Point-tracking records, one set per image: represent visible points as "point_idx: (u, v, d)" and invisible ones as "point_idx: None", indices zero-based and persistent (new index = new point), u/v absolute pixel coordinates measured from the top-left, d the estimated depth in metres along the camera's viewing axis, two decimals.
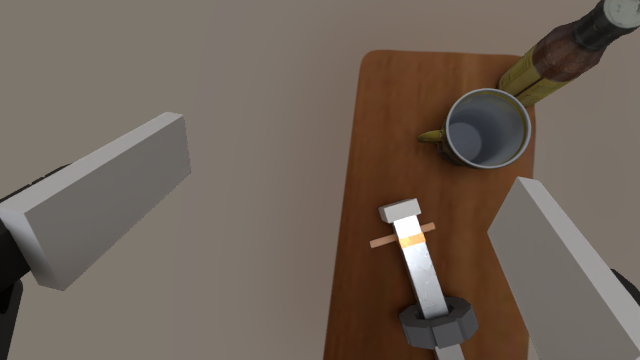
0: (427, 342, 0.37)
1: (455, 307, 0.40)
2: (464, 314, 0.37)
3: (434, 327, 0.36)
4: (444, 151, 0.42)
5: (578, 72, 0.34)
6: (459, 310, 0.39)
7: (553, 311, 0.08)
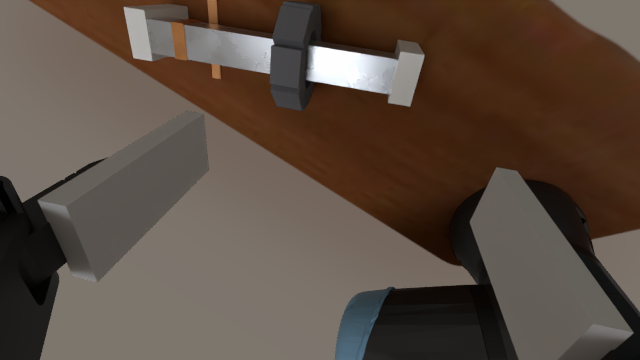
0: (290, 96, 0.27)
1: None
2: (275, 26, 0.25)
3: (270, 80, 0.26)
4: None
5: None
6: None
7: (523, 291, 0.09)
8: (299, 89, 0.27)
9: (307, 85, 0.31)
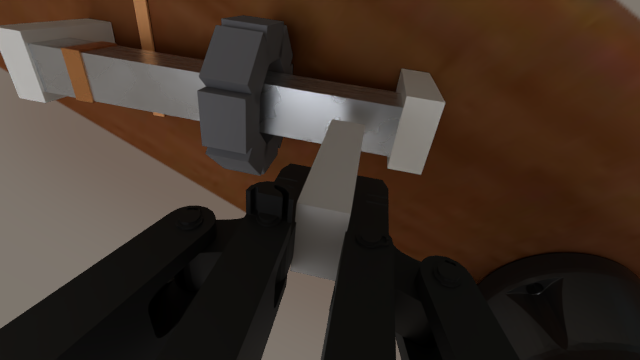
0: (237, 162, 0.18)
1: None
2: (206, 58, 0.15)
3: (202, 140, 0.17)
4: None
5: None
6: None
7: None
8: (250, 152, 0.17)
9: (271, 136, 0.21)
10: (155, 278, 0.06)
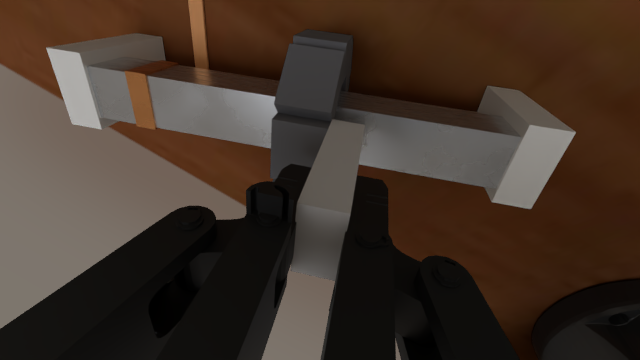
0: None
1: None
2: (280, 82, 0.14)
3: (271, 172, 0.15)
4: None
5: None
6: None
7: None
8: None
9: None
10: (155, 278, 0.06)
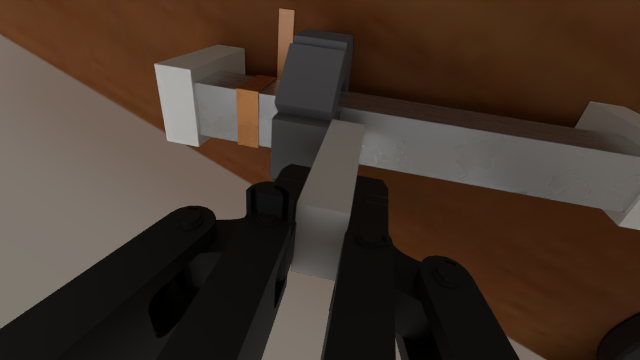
0: None
1: None
2: (280, 81, 0.14)
3: (271, 172, 0.15)
4: None
5: None
6: None
7: None
8: None
9: None
10: (155, 278, 0.06)
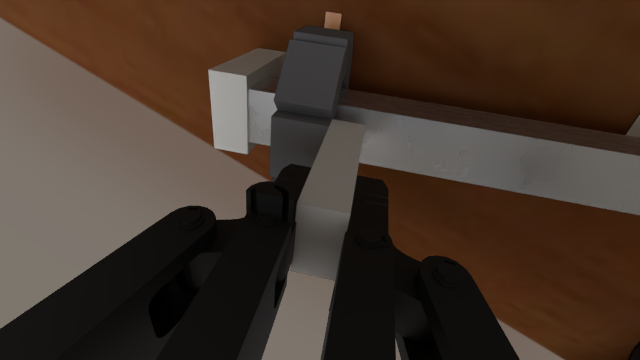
0: None
1: None
2: (280, 78, 0.13)
3: (270, 170, 0.15)
4: None
5: None
6: None
7: None
8: None
9: None
10: (155, 278, 0.06)
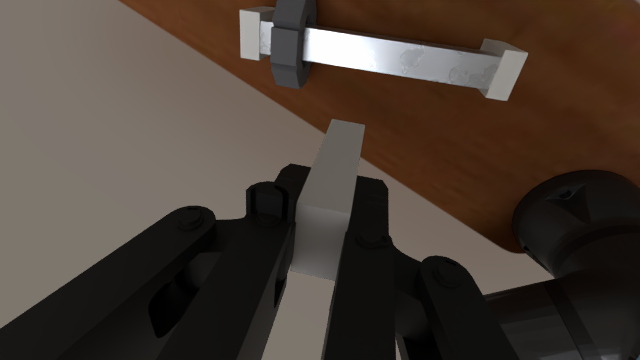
0: (288, 73, 0.30)
1: None
2: (275, 9, 0.28)
3: (270, 58, 0.29)
4: None
5: None
6: None
7: None
8: (296, 67, 0.30)
9: (304, 66, 0.34)
10: (155, 278, 0.06)
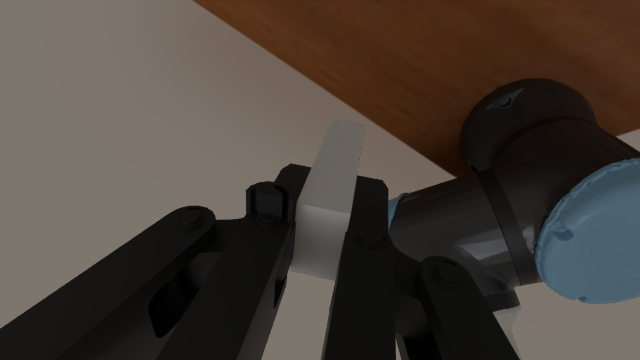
0: None
1: None
2: None
3: None
4: None
5: None
6: None
7: None
8: None
9: None
10: (155, 278, 0.06)
